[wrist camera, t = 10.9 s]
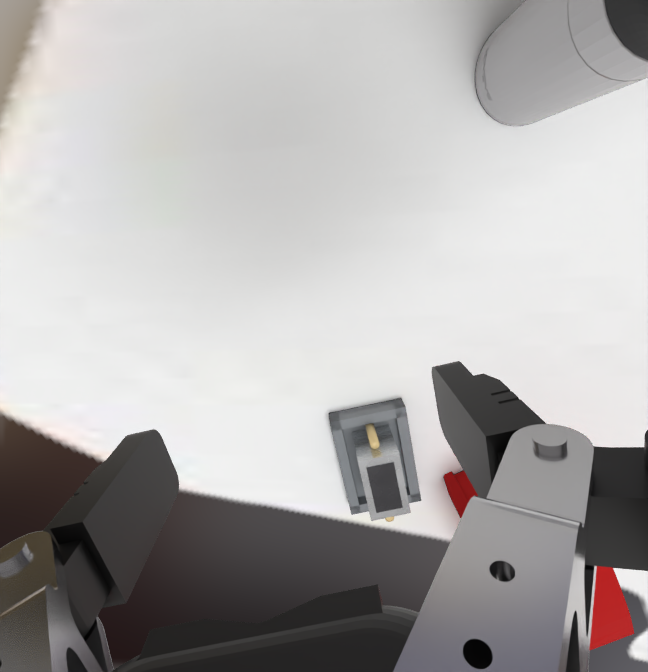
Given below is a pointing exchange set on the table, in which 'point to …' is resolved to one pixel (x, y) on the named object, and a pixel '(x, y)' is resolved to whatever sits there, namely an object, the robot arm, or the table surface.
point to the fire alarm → (608, 597)
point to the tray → (369, 419)
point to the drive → (381, 474)
